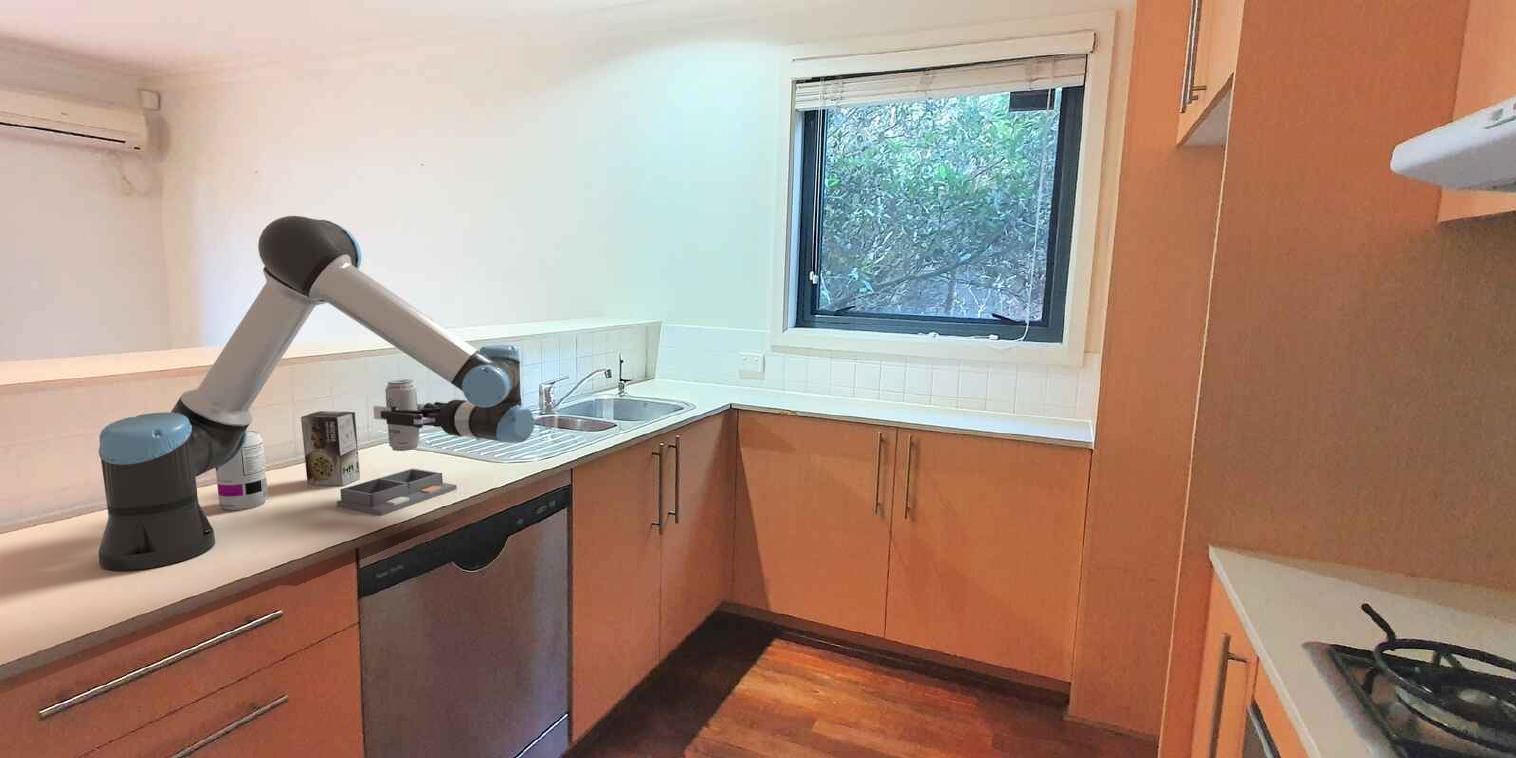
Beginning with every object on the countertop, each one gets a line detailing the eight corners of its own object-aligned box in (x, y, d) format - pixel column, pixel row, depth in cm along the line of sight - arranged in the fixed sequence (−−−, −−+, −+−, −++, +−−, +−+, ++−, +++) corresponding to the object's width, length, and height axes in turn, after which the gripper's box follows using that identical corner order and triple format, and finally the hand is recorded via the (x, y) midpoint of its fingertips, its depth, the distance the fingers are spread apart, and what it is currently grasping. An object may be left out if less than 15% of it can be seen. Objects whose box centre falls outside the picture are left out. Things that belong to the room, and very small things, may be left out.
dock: (381, 515, 140) (380, 498, 140) (337, 506, 145) (335, 490, 145) (456, 489, 158) (455, 474, 157) (414, 482, 163) (413, 467, 162)
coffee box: (361, 478, 165) (356, 411, 163) (342, 486, 159) (337, 416, 156) (325, 477, 166) (320, 410, 164) (305, 485, 160) (299, 415, 157)
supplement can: (220, 514, 140) (213, 441, 138) (218, 503, 146) (211, 433, 144) (270, 506, 145) (263, 435, 143) (266, 496, 151) (259, 428, 149)
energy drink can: (385, 448, 154) (380, 381, 152) (413, 443, 158) (408, 378, 156) (396, 453, 150) (391, 384, 148) (424, 448, 154) (420, 380, 152)
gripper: (430, 446, 137) (350, 434, 147) (501, 427, 154) (425, 418, 164) (427, 408, 136) (347, 399, 145) (499, 394, 153) (423, 386, 163)
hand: (389, 409), depth 155 cm, fingers closed on energy drink can, 6 cm apart
